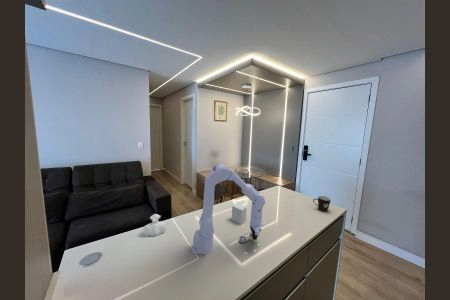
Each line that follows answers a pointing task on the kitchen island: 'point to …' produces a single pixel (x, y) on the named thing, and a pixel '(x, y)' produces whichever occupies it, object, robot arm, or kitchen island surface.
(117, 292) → the kitchen island surface
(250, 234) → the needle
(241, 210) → the small box
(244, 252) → the dial
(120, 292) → the kitchen island surface
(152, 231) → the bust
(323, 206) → the coffee mug
